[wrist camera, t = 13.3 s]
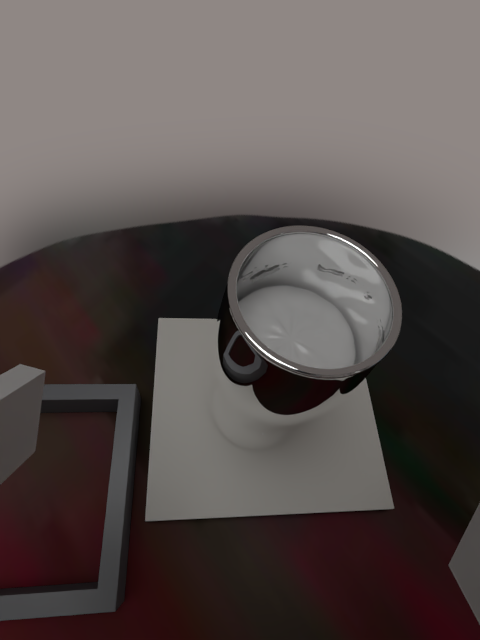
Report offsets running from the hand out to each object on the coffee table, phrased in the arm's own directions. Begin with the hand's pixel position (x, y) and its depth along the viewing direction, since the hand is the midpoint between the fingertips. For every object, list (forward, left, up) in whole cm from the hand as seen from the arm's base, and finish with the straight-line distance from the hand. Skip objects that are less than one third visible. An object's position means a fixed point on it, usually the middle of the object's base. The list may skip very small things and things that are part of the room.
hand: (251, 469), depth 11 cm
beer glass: (-3, -6, -15) cm, 16 cm away
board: (-4, -6, -16) cm, 17 cm away
